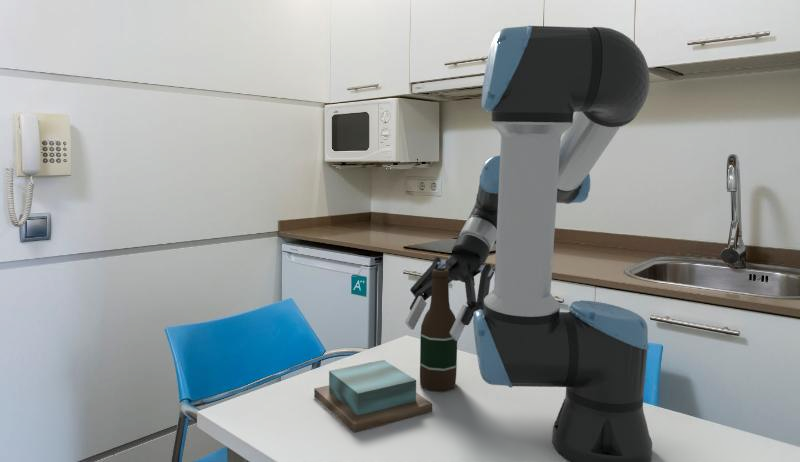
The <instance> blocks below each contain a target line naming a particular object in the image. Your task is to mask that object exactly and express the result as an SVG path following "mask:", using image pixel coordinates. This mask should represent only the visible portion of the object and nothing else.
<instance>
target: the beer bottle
mask: <svg viewBox="0 0 800 462" xmlns="http://www.w3.org/2000/svg"><path fill="white" fill-rule="evenodd" d="M431 275H432V276H433V282H432V294H431V296H430V305H429V308H428V310H427V312H426V313H425V315H424V316H423V319H422V323H421V327H420V346H419V347H420V348H419V349H420V350H419V351H420V353H419V354H420V355H419V356H420V357H419V385H420V387H422V388H424V389H425V390H428V391H429V392H442V393H444V392H447V391H450V390H454V389H455V387H456V382H457V369H458V368H457V365H458V363H457V362H458V341H456V340H454V339H453V337H452V336H451V335H450V330H451V328H452V326H453V324H454V322H455V320H456V318H457V317H456V316H455V313H454V312H453V310H452V309H451V306H450V305H451V304H450V293H449V290H450V289H449V283H448V276H449V275H450V273H449V270H447V269H442V268H438V269H433V271H432V274H431Z"/></svg>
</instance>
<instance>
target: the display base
mask: <svg viewBox="0 0 800 462" xmlns="http://www.w3.org/2000/svg"><path fill="white" fill-rule="evenodd" d="M328 377H329V378H328V380H329V382H328V384H327V385H324V386H319V387H315V388H313V389H314V391H313V392H314V393H313V394H314V395H313V396H314V398H316V399H317V400H318V401H320V402H321V403H322V404H323V406H325V407H326V408H327V409H328V410H329V411H330V412H332V414H334V415H335V416H336V417H337V418H338V419H339V420H340V421H341V422H343V424H345V425H346V426H347V427H348V428H349V429H350V430H351V431H352V432H353V433H357V432H361V431H364V430H369V429H372V428H376V427H380V426H383V425H387V424H391V423H395V422H397V421H402V420H406V419H409V418H413V417H417V416H420V415H423V414H427V413H431V412H433V406H434V404H433V403H432V402H431V401H429V400H428V399H427V398H425V397H424V396H422V395H420V394H418V393H417V380H416V379H415V378H414V377H412V376H411V375H409V374H407V373H406V372H405V371H402V370H400V369H399V368H398V367H396V366H394V365H393V364H391V363H390V362H388V361H386V360H385V359H381V360H376V361H372V362H367V363H361V364H357V365H352V366H346V367H342V368H341V367H340V368H337V369H332V370H329V371H328Z"/></svg>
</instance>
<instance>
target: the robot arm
mask: <svg viewBox="0 0 800 462" xmlns="http://www.w3.org/2000/svg"><path fill="white" fill-rule="evenodd" d="M490 44H491V45H490V47H489V48H490V49H489V51H488V56H487V60H486V64H485V70H484V75H483V82H482V90H481V91H482V92H481V104H480V105H481V108H482V110H483V111H486V112H487V113H490V112H491V120H490V121H491V125H492V126H493V128H494V129H496V130H497V132H498V133H499V134H500V155H494V156H492V157H490V158H489V159H487V160H486V161H485V163H484V165H483V166H482V169H481V173H480V175H479V185H478V189H477V194H476V199H475V204H474V206H473V208H472V210H471V212H470V214H469V216H468V217H467V220H466V222H465V223H464V225H463V227H462V229H461V231H460V233H459V236H458V237H457V239H456V240H455V242H454V244H453V247H451V254H450V256H449V257H448V258H447V259H441V257H440V256H436V257H434V259H433V261H432V263H431V265H430V266H429V267H428V268H427V269H426V271H425V272H424V273H423V274H422V275H421V276H420V277H419V278H418V280H417V281H416V282H415V283H414V284H413V285H412V287H410V293H412V295H413V296H414V299H413V301H412V303H411V304H410V306H409V310H410V312H409V314H408V315H407V317H406V318H405V321H404V323H405V324H406V325H407V327H408V328H409V330H414V329H415V327H416V326H417V324H418V322H419V321H420V318H421V315H422V314H423V312H424V310H425V308H426V306H427V304H428V303H427V301H426V300H428V299H429V298H431V294H432V282H433V276H432V275H431V274H432V271H433V269H438V268H442V269H447V270H449V273H450V275H449V276H448V284H450V283H451V282H453V281H454V282H457V281H459V282H461V283H464V288H465V295H466V296H465V297H466V301H465V303H466V304H462V305H461V307H460V309H459V312H458V313H457V315H456V317H455V318H456V320H455V322H454V324H453V326H452V328H451V330H450V335H451V336H452V337H453V339H454V340H456V341H457V342H458V341H459V340H460V337H461V335H462V333H463V331H464V329H465V327H466V326H469V325H470V323H471V322H472V320H473V334H474V343H475V351H476V357H477V363H478V369H479V374H480V376H481V378H482V380H483V381H484V382H485V383H486V384H488V385H491V386H505V387H508V388H513V387H530V388H531V387H532V388H533V387H535V388H536V387H537V388H538V387H539V388H541V387H544V388H545V387H546V388H553V387H554V388H565V389H566V390H565V396H564V399H563V402H562V404H561V407H560V409H559V411H558V413H557V415H556V419H555V421H554V423H553V425H552V437H551V441H552V446H553V448H554V449H555V450H556V451H557V452H558V453H559V454H560V455H561V456H562V457H564V458H565V459H567V460H568V461H570V462H652V457H653V455H652V454H653V441H652V438H651V436H650V432H649V428H648V427H649V426H648V423H647V420H646V416H645V412H644V395H645V382H646V371H647V358H648V350H649V343H648V340H649V339H648V338H649V337H648V334H649V329H648V328H649V327H648V324H647V322H646V320H645V319H644V318H643V317H642V316H641V315H639V313H636V312H634V311H632V310H630V309H626V308H625V307H621V306H619V305H618V306H617V305H613V304H610V303H605V302H601V301H600V302H599V301H594V300H575V301H572V302H571V304H570V305H569V307H568V309H569V310H568V311H560V309H561V307H560V302H559V301H558V300H557V299H556V298H555V297H554V295H552V293H551V291H552V276H553V263H554V262H553V261H554V259H553V258H554V246H555V245H554V243H555V230H556V214H557V204H566V205H570V204H576V203H577V204H578V203H583V202H585V201H586V200H587V199H588V197H589V193H590V192H591V191H590V190H591V176H590V172H591V170H592V169H593V168H594V166H595V165H596V163H597V162H598V161H599V159H600V157H601V156H602V154H603V153H604V152H605V151H606V149H607V147H608V146H609V145H610V143H611V142H612V140H613V139H614V137H615V135H616V134H617V133H618V131H619V130H620V128H621V127H625V126H627V125H628V124H631V122H632V121H633V120H635V119H636V117H637V115H638V114H639V113H640V111H641V110H642V108H643V107H644V105H645V102H646V100H647V97H648V94H649V93H650V92H649V91H650V82H651V81H650V69H649V66H648V63H647V59H646V58H645V55H644V54H643V52H642V51H641V49H640V47H638V45H637V44H636V43H635V42H634V41H633V40H632V39H631V38H630V37H628V35H625V34H624V33H622V32H620V31H618V30H615V29H613V28H610V27H603V26H593V27H585V26H583V27H579V26H574V27H573V26H553V25H552V26H550V25H549V26H548V25H547V26H545V25H527V26H526V25H525V26H514V27H505V28H502V29H500V30H499V31H498V32H497V33H496V34H495V36H494V37H493V40H492V42H491V43H490ZM494 244H495V263H494V265H495V267H494V269H493V267H492V266H491V264H489V263H488V264H487V263H486V261H487V259H488V257H489V255H490V252H491V250H492V249H493V246H494ZM478 274H480V276H479V277H480V278H479V282H478V283H479V285H478V289H477V290H478V291H477V295H476V289H475V285H476V284H475V277H476V276H477V275H478ZM493 277H494V283H493V284H494V285H493V286H494V287H493V290H492V291H490V287H491V281H492V278H493ZM476 296H477V297H476Z"/></svg>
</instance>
